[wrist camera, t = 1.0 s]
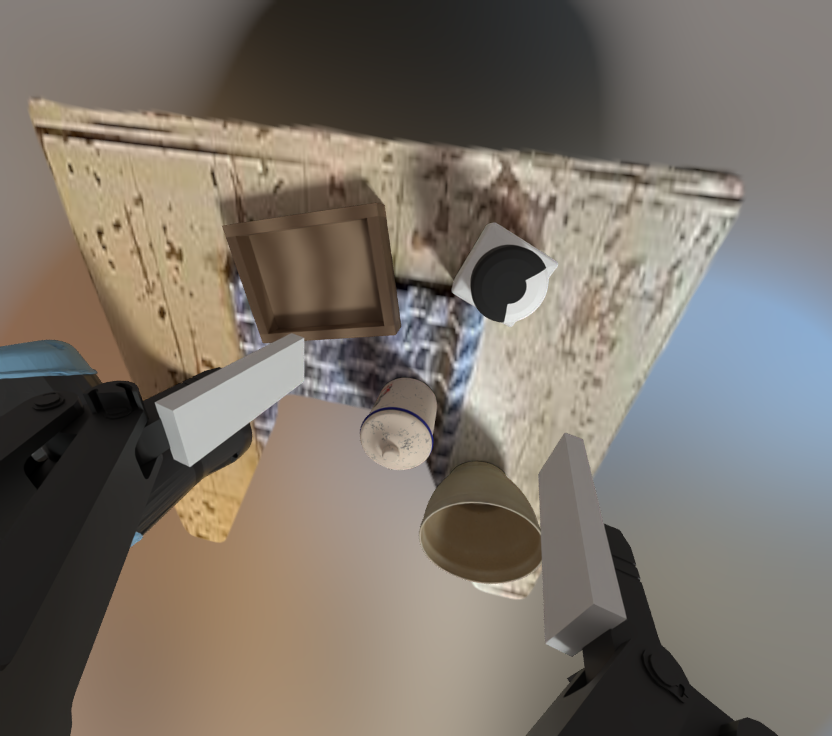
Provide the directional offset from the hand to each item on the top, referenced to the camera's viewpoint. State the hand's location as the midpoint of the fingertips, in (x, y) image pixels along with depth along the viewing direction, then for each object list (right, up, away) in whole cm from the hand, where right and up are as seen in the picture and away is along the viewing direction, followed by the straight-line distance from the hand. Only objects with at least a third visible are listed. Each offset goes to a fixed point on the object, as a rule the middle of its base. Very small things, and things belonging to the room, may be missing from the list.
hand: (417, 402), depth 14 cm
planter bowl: (+10, -17, +34) cm, 39 cm away
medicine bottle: (+9, +13, +20) cm, 25 cm away
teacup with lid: (-1, -5, +30) cm, 30 cm away
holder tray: (-12, +13, +23) cm, 29 cm away
